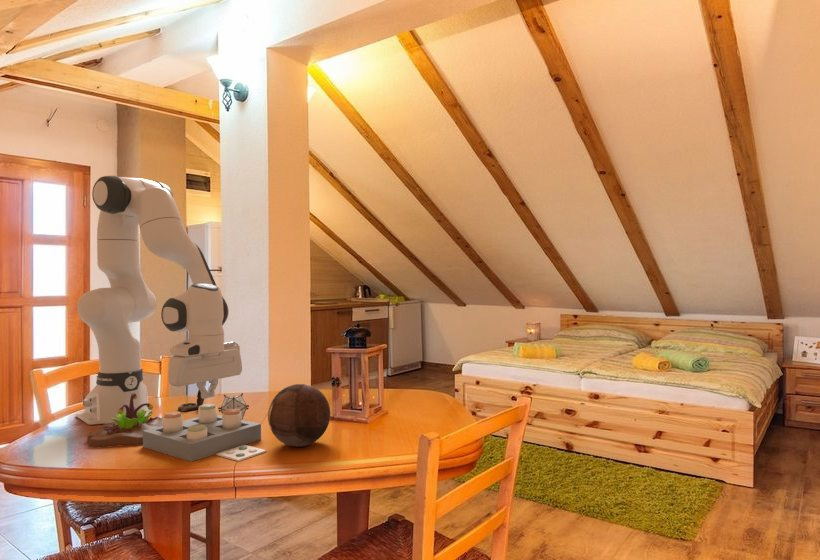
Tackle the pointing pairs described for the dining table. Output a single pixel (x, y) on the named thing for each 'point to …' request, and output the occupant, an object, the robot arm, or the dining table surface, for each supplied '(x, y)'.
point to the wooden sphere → (299, 415)
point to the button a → (172, 422)
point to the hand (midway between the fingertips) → (207, 397)
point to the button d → (231, 419)
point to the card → (241, 452)
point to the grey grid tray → (203, 447)
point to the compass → (192, 404)
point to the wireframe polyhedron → (234, 404)
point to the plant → (125, 427)
